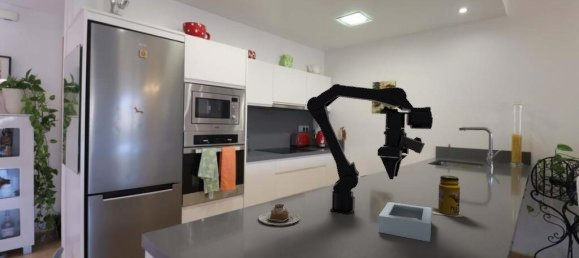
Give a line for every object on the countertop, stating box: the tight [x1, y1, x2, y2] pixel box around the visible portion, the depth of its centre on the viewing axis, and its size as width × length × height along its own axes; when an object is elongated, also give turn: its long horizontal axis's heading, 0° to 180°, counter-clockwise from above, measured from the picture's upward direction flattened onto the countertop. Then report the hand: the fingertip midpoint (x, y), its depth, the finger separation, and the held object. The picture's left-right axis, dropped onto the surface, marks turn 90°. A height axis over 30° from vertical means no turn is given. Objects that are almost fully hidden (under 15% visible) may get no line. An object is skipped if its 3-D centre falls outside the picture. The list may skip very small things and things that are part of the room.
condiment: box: [429, 175, 464, 218], centre depth 91 cm, size 7×8×12 cm
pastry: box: [258, 203, 301, 227], centre depth 80 cm, size 12×12×5 cm
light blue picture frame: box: [378, 201, 432, 243], centre depth 76 cm, size 12×16×4 cm
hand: (393, 177), depth 87 cm, fingers open, 6 cm apart
